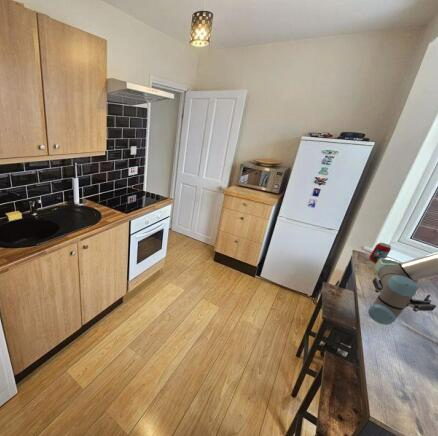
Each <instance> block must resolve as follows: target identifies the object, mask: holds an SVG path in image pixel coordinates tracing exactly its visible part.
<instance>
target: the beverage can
mask: <svg viewBox="0 0 438 436" xmlns="http://www.w3.org/2000/svg"><path fill="white" fill-rule="evenodd" d="M391 251H392V248H391V245H390V244H388V243H385V242H379V243H377V244H376V245H375V247H373V249H372V252H371V253H370V255H369V257H368V258H369V260H370V261H372V262H374V263H375V264H376V263H377V261H378V260H379V259H380V258H387V257H388V255H389V253H390V252H391Z"/></svg>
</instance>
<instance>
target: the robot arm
mask: <svg viewBox="0 0 438 436" xmlns="http://www.w3.org/2000/svg"><path fill="white" fill-rule="evenodd" d="M377 276H378V277H374V278H373V280H372V284H373V287H374V289H375V290H374V293H377V294H378V293H379V294H378V295H377V297H376V299H375V301H374V302H373V303H372V304H371V305H370V306H369V307H368V310H367V313H368V315H369V317H370V318H371V319H372V320H373V322H375V323H378V324H380V325H391V324H393V323H395V322H396V320H397V319H398V317H399V316H400V315H401V313H403V312H404V310H405V309H407V307H409V308H411V309H412V311H413V312H415V313H417V312H433V311H434V310H435V308H437V305H436V304H433V303H432V299H429V298H430V297H431V294H427V295H426V297H425V298H424V299H417V298H413V297H414V296H415V295H416V294H417V291H418V289H419V284H418V282H417V283H416V282H414V280H418V279H419V280H422V279H426V278H430V277H434V276H438V251H437V252H433V253H430V254H427V255H424V256H420V257H417V258H413V259H410V260H407V261H404V262H400V264H396V265H395V264H392V263H385V264H382V265H381V266H379V268H378V272H377ZM419 280H418V281H419Z"/></svg>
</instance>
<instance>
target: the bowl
mask: <svg viewBox="0 0 438 436" xmlns="http://www.w3.org/2000/svg"><path fill="white" fill-rule="evenodd" d="M385 263H392V264H395V265H396V264H400V263H401V262H400V261H398V260H395V259H391V258H387V257H386V258H380V259H379V260H378V261H377V263H376V262H375V265H374V267H373V269H374V270H375V271H376V272H377V273H378V268H379V266H381V265H382V264H385Z"/></svg>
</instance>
